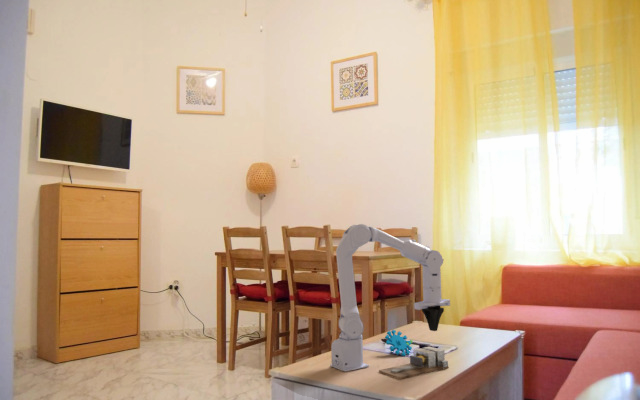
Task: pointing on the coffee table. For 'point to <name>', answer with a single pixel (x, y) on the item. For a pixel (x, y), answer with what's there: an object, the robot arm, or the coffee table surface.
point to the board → (408, 370)
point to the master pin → (418, 360)
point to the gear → (398, 343)
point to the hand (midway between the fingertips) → (433, 330)
